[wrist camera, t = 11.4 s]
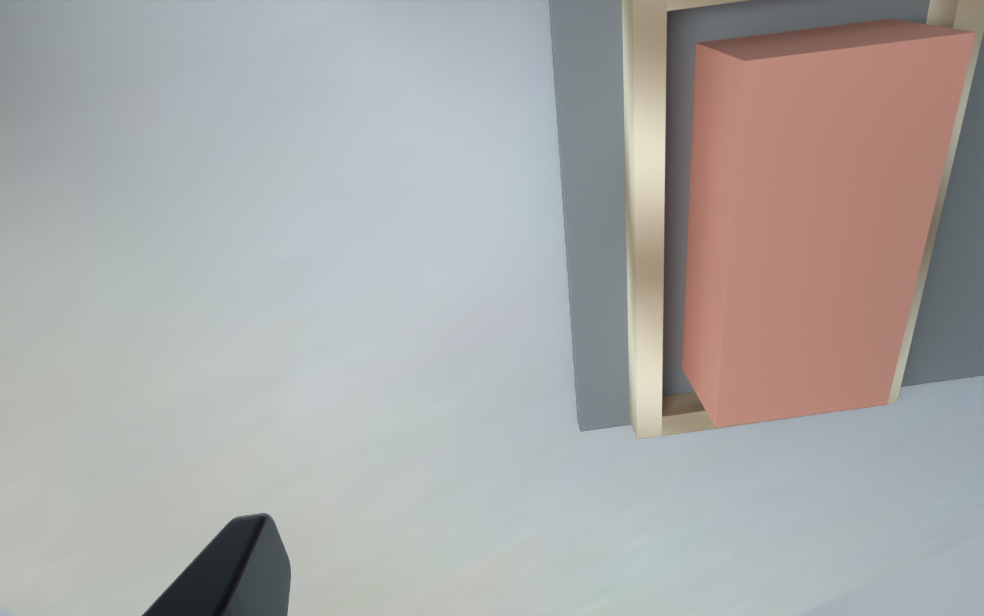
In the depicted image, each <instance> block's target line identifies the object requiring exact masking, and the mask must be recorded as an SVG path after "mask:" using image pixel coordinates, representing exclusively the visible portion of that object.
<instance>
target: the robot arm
mask: <svg viewBox="0 0 984 616" xmlns="http://www.w3.org/2000/svg"><path fill="white" fill-rule="evenodd" d="M290 581H291V568H290V562H289V558H288V555H287V552H286V550H285V547H284V545H283V542H282V540H281V537H280V535H279V532H278V530H277V527H276V525H275V522H274V520H273V518H272V517H271V516H270V515H269V514H266V513H260V514H253V515H246V516H239V517H236V518H234V519H232V520H231V521H230V522H229V523H228V524H227V525H226V526H225V527H224V528H223V529H222V530H221V531H220V532H219V533H218V534H217V536H216V537H215V538H214V539H213V540H212V541H211V542H210V543H209V544H208V545H207V546H206V547H205V548H204V549H203V551H202V552H201V553H200V554H199V555H198V556H197V557H196V558H195V559H194V560H193V561H192V562H191V563H190V564H189V566H188V567H187V568H186V569H185V570H184V571H183V572H182V573H181V574H180V575H179V576H178V577H177V578H176V580H175V581H174V582H173V583H172V584H171V585H170V586H169V587H168V588H167V589H166V590H165V591H164V592H163V593H162V595H161V596H160V597H159V598H158V599H157V600H156V601H155V602H154V603H153V604H152V605H151V606H150V607H149V609H148V610H147V611H146V612H145V613H144V614H143V615H142V616H287V613H288V602H289V592H290Z"/></svg>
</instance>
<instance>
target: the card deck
mask: <svg viewBox="0 0 984 616" xmlns="http://www.w3.org/2000/svg"><path fill="white" fill-rule="evenodd" d="M975 35H976V32H972V31H966V30H960V29H953V28H947V27H941V26H935V25H928V24H922V23H916V22H909V21H903V20H897V19H883V20H875V21H867V22H859V23H851V24H843V25H835V26H827V27H819V28H811V29H803V30H795V31H787V32H779V33H771V34H763V35H755V36H747V37H739V38H731V39H723V40H715V41H707V42H699V43H696V48H695V71H694V94H693V117H692V140H691V163H690V186H689V209H688V232H687V255H686V278H685V301H684V325H683V348H682V370H683V372H684V373H685V375H686V377H687V379H688V380H689V382H690V384H691V386H692V387H693V389H694V391H695V393H696V394H697V396H698V398H699V399H700V401H701V403H702V405H703V406H704V408H705V410H706V412H707V413H708V415H709V417H710V419H711V420H712V422H713V424H714V425H715V427H722V426H730V425H738V424H745V423H753V422H760V421H768V420H776V419H783V418H791V417H799V416H806V415H814V414H821V413H829V412H837V411H844V410H852V409H860V408H867V407H875V406H882V405H887V404H888V400H889V396H890V391H891V387H892V383H893V379H894V375H895V370H896V366H897V362H898V358H899V354H900V349H901V345H902V341H903V337H904V333H905V328H906V324H907V320H908V316H909V312H910V307H911V303H912V299H913V295H914V291H915V286H916V282H917V278H918V274H919V270H920V265H921V261H922V257H923V253H924V249H925V244H926V240H927V236H928V232H929V228H930V223H931V219H932V215H933V211H934V207H935V203H936V198H937V194H938V190H939V186H940V182H941V177H942V173H943V169H944V165H945V161H946V156H947V152H948V148H949V144H950V140H951V135H952V131H953V127H954V123H955V119H956V114H957V110H958V106H959V102H960V98H961V93H962V89H963V85H964V81H965V77H966V72H967V68H968V64H969V60H970V56H971V51H972V47H973V43H974V39H975Z"/></svg>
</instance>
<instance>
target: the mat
mask: <svg viewBox="0 0 984 616" xmlns="http://www.w3.org/2000/svg"><path fill="white" fill-rule="evenodd" d="M929 5H930V0H746V1H738V2H731V3H724V4H716V5H709V6H702V7H694V8H687V9H680V10H672V11H667V47H666V128H665V209H664V290H663V371H662V397H665V396H672V395H679V394H687V393H694V392H695V391H694V389H693V387H692V386H691V384H690V382H689V380H688V379H687V377H686V375H685V373H684V372H683V370H682V348H683V325H684V301H685V278H686V255H687V232H688V209H689V186H690V163H691V140H692V117H693V94H694V71H695V48H696V43H699V42H707V41H715V40H723V39H731V38H739V37H747V36H755V35H763V34H771V33H779V32H787V31H795V30H803V29H811V28H819V27H827V26H835V25H843V24H851V23H859V22H867V21H875V20H883V19H897V20H903V21H909V22H916V23H922V24H926V20H927V15H928V10H929ZM549 6H550V20H551V35H552V50H553V64H554V79H555V94H556V108H557V123H558V138H559V153H560V167H561V182H562V197H563V211H564V226H565V241H566V255H567V270H568V285H569V299H570V314H571V329H572V343H573V358H574V373H575V388H576V402H577V417H578V424H579V428H580V431H588V430H596V429H603V428H610V427H617V426H624V425H631V422H630V409H629V355H628V301H627V246H626V192H625V138H624V83H623V29H622V0H549ZM982 375H984V32H983V36H982V40H981V45H980V49H979V53H978V58H977V62H976V66H975V70H974V75H973V79H972V83H971V88H970V92H969V96H968V100H967V105H966V109H965V113H964V118H963V122H962V126H961V130H960V135H959V139H958V143H957V148H956V152H955V156H954V161H953V165H952V169H951V173H950V178H949V182H948V186H947V191H946V195H945V199H944V203H943V208H942V212H941V216H940V221H939V225H938V229H937V233H936V238H935V242H934V246H933V251H932V255H931V259H930V263H929V268H928V272H927V276H926V281H925V285H924V289H923V293H922V298H921V302H920V306H919V311H918V315H917V319H916V323H915V328H914V332H913V336H912V341H911V345H910V349H909V353H908V358H907V362H906V366H905V371H904V375H903V379H902V383H901V387H903V386H910V385H917V384H924V383H932V382H939V381H946V380H953V379H960V378H967V377H974V376H982Z"/></svg>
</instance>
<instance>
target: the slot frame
mask: <svg viewBox="0 0 984 616" xmlns="http://www.w3.org/2000/svg"><path fill="white" fill-rule="evenodd" d="M738 1H746V0H622V29H623V83H624V138H625V192H626V246H627V301H628V355H629V409H630V422H631V425H632V427H633V430H634V432H635V435H636V437H637V439H645V438H652V437H659V436H666V435H673V434H680V433H687V432H695V431H702V430H709V429H716V428H723V427H730V426H737V425H730V426H722V427H715V425H714V424H713V422H712V420H711V419H710V417H709V415H708V413H707V412H706V410H705V408H704V406H703V405H702V403H701V401H700V399H699V398H698V396H697V394H696V393H695V392H694V393H687V394H679V395H672V396H665V397H662V371H663V290H664V209H665V128H666V47H667V11H672V10H680V9H687V8H694V7H702V6H709V5H716V4H724V3H731V2H738ZM926 24H928V25H935V26H941V27H947V28H953V29H960V30H966V31H972V32H976V35H975V39H974V43H973V47H972V51H971V56H970V60H969V64H968V68H967V72H966V77H965V81H964V85H963V89H962V93H961V98H960V102H959V106H958V110H957V114H956V119H955V123H954V127H953V131H952V135H951V140H950V144H949V148H948V152H947V156H946V161H945V165H944V169H943V173H942V177H941V182H940V186H939V190H938V194H937V198H936V203H935V207H934V211H933V215H932V219H931V223H930V228H929V232H928V236H927V240H926V244H925V249H924V253H923V257H922V261H921V265H920V270H919V274H918V278H917V282H916V286H915V291H914V295H913V299H912V303H911V307H910V312H909V316H908V320H907V324H906V328H905V333H904V337H903V341H902V345H901V349H900V354H899V358H898V362H897V366H896V370H895V375H894V379H893V383H892V387H891V391H890V396H889V400H888V404H895V403H897V401H898V396H899V392H900V388H901V383H902V379H903V375H904V371H905V366H906V362H907V358H908V353H909V349H910V345H911V341H912V336H913V332H914V328H915V323H916V319H917V315H918V311H919V306H920V302H921V298H922V293H923V289H924V285H925V281H926V276H927V272H928V268H929V263H930V259H931V255H932V251H933V246H934V242H935V238H936V233H937V229H938V225H939V221H940V216H941V212H942V208H943V203H944V199H945V195H946V191H947V186H948V182H949V178H950V173H951V169H952V165H953V161H954V156H955V152H956V148H957V143H958V139H959V135H960V130H961V126H962V122H963V118H964V113H965V109H966V105H967V100H968V96H969V92H970V88H971V83H972V79H973V75H974V70H975V66H976V62H977V58H978V53H979V49H980V45H981V40H982V36H983V32H984V0H930V5H929V10H928V15H927V20H926ZM844 411H845V410H844ZM829 413H830V412H829ZM821 414H823V413H821ZM814 415H816V414H814ZM806 416H809V415H806ZM799 417H802V416H799ZM791 418H795V417H791ZM783 419H787V418H783ZM776 420H780V419H776ZM768 421H773V420H768ZM760 422H766V421H760ZM753 423H759V422H753ZM745 424H752V423H745ZM745 424H738V425H745Z"/></svg>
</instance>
